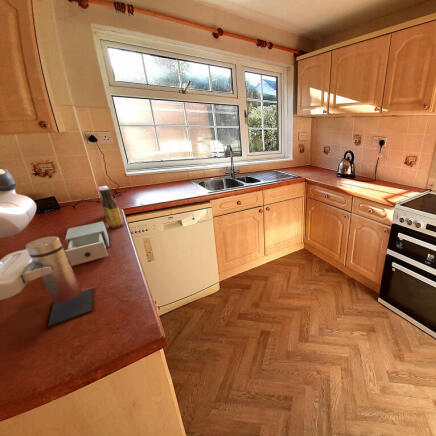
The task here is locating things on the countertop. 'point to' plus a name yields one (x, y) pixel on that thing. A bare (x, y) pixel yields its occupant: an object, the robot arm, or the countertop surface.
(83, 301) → the mat
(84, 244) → the drawer
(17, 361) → the countertop surface
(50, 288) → the metal canister
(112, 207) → the sauce bottle
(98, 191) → the candy bar box
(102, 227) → the cabinet
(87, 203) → the countertop surface
